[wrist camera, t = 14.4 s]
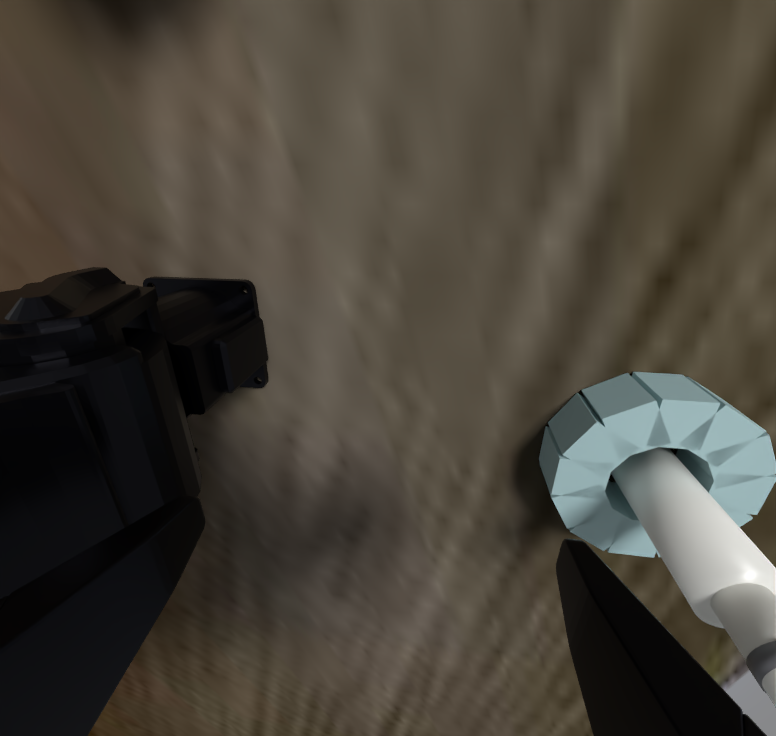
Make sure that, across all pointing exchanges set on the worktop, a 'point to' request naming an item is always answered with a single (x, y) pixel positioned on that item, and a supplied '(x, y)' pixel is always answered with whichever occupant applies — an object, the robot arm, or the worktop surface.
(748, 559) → the white rounded peg
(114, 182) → the worktop surface
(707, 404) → the pale blue segmented ring
